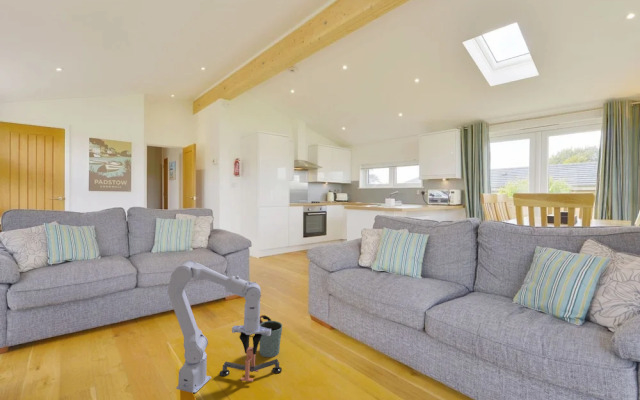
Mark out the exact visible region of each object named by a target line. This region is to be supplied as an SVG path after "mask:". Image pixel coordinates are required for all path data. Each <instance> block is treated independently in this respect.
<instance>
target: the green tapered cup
mask: <svg viewBox="0 0 640 400" xmlns="http://www.w3.org/2000/svg"><path fill="white" fill-rule="evenodd" d="M260 326H261V327H264V328H268V329H271V335H270V336H267V335H262V337H261V339H260V341H259V350H258V351H259V355H260V356H261V357H264V358H274V357H276V356H278V355H279V354H280V348H281V337H282V332H283V324H282V322H279V321H277V320H271V321H268V320H267V321H266V320H265V321H263V323H261V324H260Z"/></svg>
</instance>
